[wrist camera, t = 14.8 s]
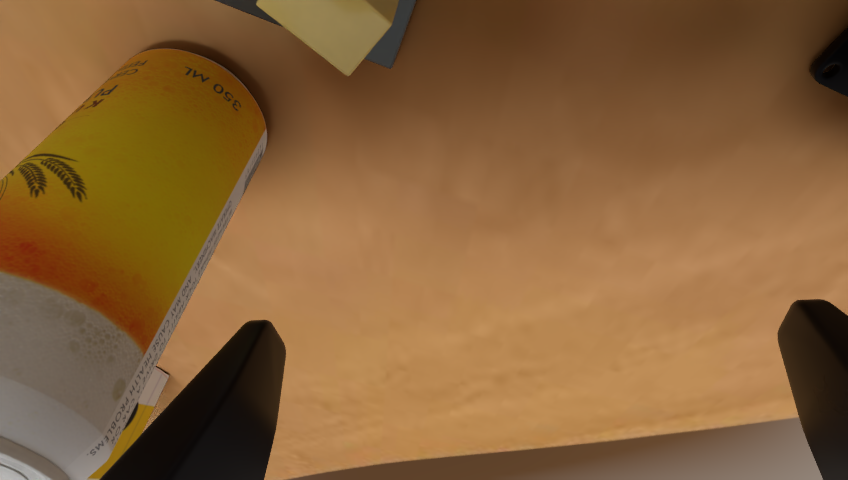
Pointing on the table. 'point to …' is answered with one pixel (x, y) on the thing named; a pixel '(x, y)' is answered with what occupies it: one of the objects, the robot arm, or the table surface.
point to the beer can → (112, 251)
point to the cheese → (339, 27)
